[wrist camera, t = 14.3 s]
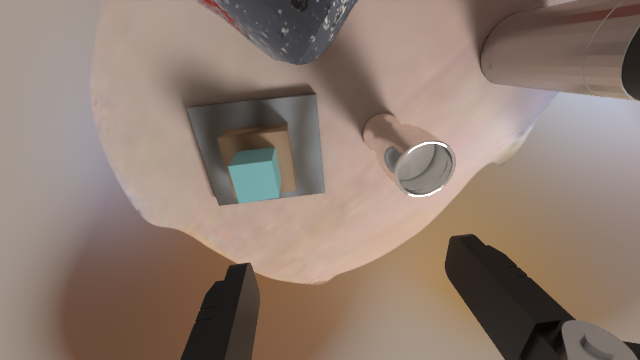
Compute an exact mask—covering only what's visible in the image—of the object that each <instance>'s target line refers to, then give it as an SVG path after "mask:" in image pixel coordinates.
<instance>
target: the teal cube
mask: <svg viewBox="0 0 640 360" xmlns="http://www.w3.org/2000/svg"><path fill="white" fill-rule="evenodd" d="M228 168H229V172H230V175H231V178H232V182H233V185H234V188H235V192H236V195H237V198H238V202H239V203H245V202H253V201H260V200H267V199H275V198H279V196H280V188H281V175H280V170H279V165H278V160H277V155H276V150H275V147H270V148H262V149H254V150H246V151H238V152H237V153H236V154H235V156H234V158H233V159H232V161H231V162H230V164H229V165H228Z"/></svg>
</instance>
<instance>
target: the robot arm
mask: <svg viewBox="0 0 640 360" xmlns="http://www.w3.org/2000/svg"><path fill="white" fill-rule="evenodd" d="M481 68H482V71H483V74H484V75H485V77H486V78H487V79H488V80H489V81H490V82H492V83H495V84H501V85H509V86H517V87H524V88H532V89H541V90H549V91H558V92H566V93H576V94H583V95H591V96H592V95H593V96H600V97H611V98H618V99H627V100H636V101H640V0H577V1H572V2H567V3H563V4H558V5H553V6H548V7H543V8H538V9H534V10H529V11H524V12H520V13H516V14H513V15H511V16H509V17H507V18H505V19H504V20H502V21H501V22H500V23H499V24H498V25H497V26H496V27H495V28H494V29H493V30H492V32H491V33H490V35H489V36H488V38H487V40H486V42H485V44H484V46H483V50H482V54H481ZM445 270H446V274H447V276H448V278H449V280H450V281H451V283H452V284H453V286H454V287H455V289H456V290H457V291H458V293H459V294H460V296H461V297H462V299H463V300H464V302H465V303H466V304H467V306H468V307H469V309H470V310H471V312H472V313H473V314H474V316H475V317H476V319H477V320H478V322H479V323H480V324H481V326H482V327H483V328H484V330H485V332H486V333H487V334H488V336H489V337H490V339H491V340H492V342H493V343H494V344H495V346H496V347H497V349H498V350H499V352H500V353H501V354H502V356H503V357H504V359H505V360H640V344H637V343H631V342H624V341H621V340H620V339H619V338H617V337H616V336H615V335H613V334H611V333H610V332H608V331H606V330H605V329H603V328H601V327H599V326H596V325H594V324H591V323H588V322H585V321H580V320H576V319H574V318H573V317H572V316H571V315H570V314H569V313H567V311H565V310H564V309H563V308H562V307H561V306H560V305H559V304H558V303H557V302H556V301H555V300H554V299H553V298H551V297H550V296H549V295H548V294H547V293H546V292H545V291H544V290H543V289H542V288H541V287H540V286H539V285H538V284H536V283H535V282H534V281H533V280H532V279H531V278H530V277H529V278H528V277H527V274H526V273H525V272H523V271H522V270H521V269H520V268H518V267H517V265H516V264H515V263H514V262H513V261H512V260H511V259H509V258H508V257H507V256H506V255H505V254H504V253H502V252H500V251H498V250H497V249H495V248H493V247H491V246H490V245H487V246H486V245H484V243H482V241H480V240H479V239H478V238H477V237H476V236H475V235H473V234H466V235H459V236H452V237H451V238H450V240H449V245H448V251H447V256H446V261H445ZM259 305H260V294H259V288H258V285H257V281H256V278H255V275H254V271H253V268H252V265H251V263H243V264H236V265H230V266H229V268H228V270H227V273H226V276H225V279H224V280H223V281H217V282H215V283H214V285H213V286H212V287H211V288H210V290H209V291H208V292H207V293H206V295H205V298H204V300H203V303H202V305H201V308H200V311H199V313H198V316H197V318H196V323H195V324H194V326H193V329H192V331H191V334H190V336H189V339H188V342H187V344H186V347H185V350H184V352H183V355H182V357H181V360H251V359H252V352H253V345H254V338H255V332H256V325H257V318H258V311H259Z"/></svg>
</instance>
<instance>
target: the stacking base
mask: <svg viewBox="0 0 640 360" xmlns="http://www.w3.org/2000/svg"><path fill="white" fill-rule="evenodd" d="M187 111H188V114H189V117H190V120H191V123H192V126H193V129H194V132H195V135H196V138H197V141H198V144H199V147H200V150H201V153H202V156H203V159H204V162H205V165H206V168H207V171H208V174H209V177H210V180H211V183H212V187H213V190H214V193H215V196H216V199H217V202H218V205H219V206H221V205H229V204H238V203H239V202H238V198H237V195H236V192H235V188H234V185H233V182H232V178H231V175H230V172H229V168H228V165H229V164H230V162H231V161H232V159H233V158H234V156H235V154H236V153H237V152H238V151H246V150H254V149H262V148H270V147H275V150H276V155H277V160H278V165H279V170H280V175H281V188H280V196H279V198H286V197H294V196H303V195H311V194H319V193H325V185H324V174H323V163H322V153H321V142H320V131H319V120H318V109H317V98H316V93H313V94H303V95H294V96H285V97H275V98H266V99H256V100H247V101H237V102H228V103H219V104H209V105H200V106H191V107H188V108H187ZM275 199H278V198H275ZM267 200H270V199H267ZM260 201H262V200H260ZM253 202H254V201H253ZM245 203H246V202H245Z"/></svg>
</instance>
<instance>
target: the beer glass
mask: <svg viewBox="0 0 640 360" xmlns="http://www.w3.org/2000/svg"><path fill="white" fill-rule="evenodd" d="M363 139H364V142H365V144H366V145H367V146H368V147H369V148H370V149H372V150H374V151H375V154H376V157H377V160H378V162H379V164H380V166H381V168H382V169H383V171H384V172H385V174H386V175H387V176H388V177H389V178H390V179H391V181H393V182H394V183H395V184H396V185H397V186H398V187H399V188H400V190H401V191H403V192H404V193H405V194H407V195H410V196H414V197H423V196H427V195H431V194H433V193H435V192H437V191H439V190H440V189H441V188H443V187H444V186H445V185H446V184H447V183H448V181H449V180H450V179H451V177H452V175H453V173H454V170H455V166H456V158H455V154H454V152H453V150H452V149H451V148H450V146H448V145H447V144H446V143H444V142H442V141H441V140H440V139H439V138H437V137H436V136H434V135H433V134H431V133H430V132H428V131H426V130H424V129H422V128H420V127H417V126H414V125H410V124H404V123H399V121H398V120H397V119H396V118H395V117H394V116H392V115H390V114H386V113H382V114H378V115H375V116H373V117H372V118H371V119H370V120H369V121H368V122H367V123H366V125H365V127H364V130H363Z"/></svg>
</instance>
